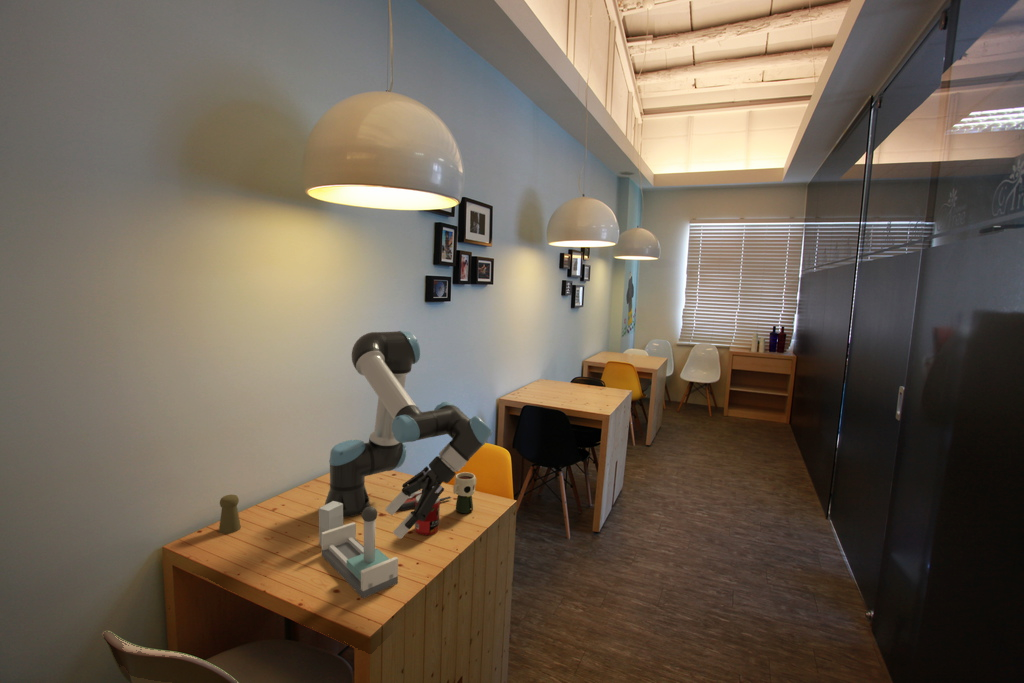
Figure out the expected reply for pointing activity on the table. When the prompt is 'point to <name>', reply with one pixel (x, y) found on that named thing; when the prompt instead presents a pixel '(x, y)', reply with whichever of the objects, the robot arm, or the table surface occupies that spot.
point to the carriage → (367, 546)
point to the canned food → (428, 520)
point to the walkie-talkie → (411, 501)
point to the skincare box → (330, 517)
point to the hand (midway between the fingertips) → (392, 523)
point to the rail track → (345, 546)
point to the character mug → (464, 491)
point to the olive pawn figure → (229, 515)
